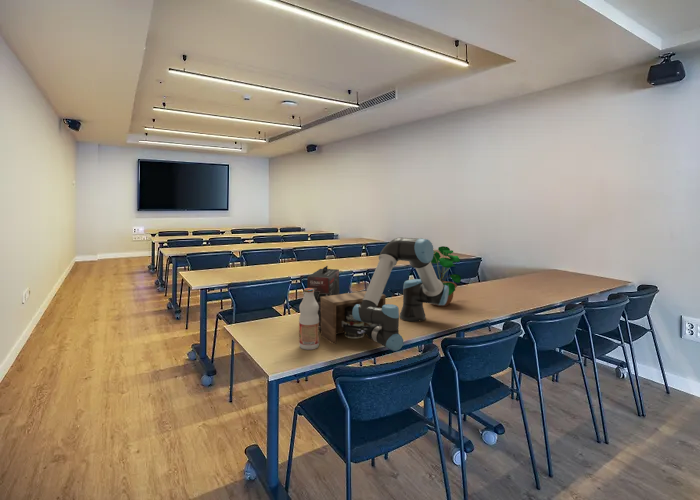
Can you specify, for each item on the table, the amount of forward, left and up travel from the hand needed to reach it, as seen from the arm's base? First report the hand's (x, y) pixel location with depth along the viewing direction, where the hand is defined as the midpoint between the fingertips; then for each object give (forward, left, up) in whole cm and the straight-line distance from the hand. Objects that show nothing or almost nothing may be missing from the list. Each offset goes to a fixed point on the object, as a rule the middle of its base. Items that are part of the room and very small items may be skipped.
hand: (353, 321), depth 199 cm
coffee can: (-1, 0, -8) cm, 8 cm away
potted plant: (-86, -20, -8) cm, 88 cm away
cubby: (-1, -1, -7) cm, 7 cm away
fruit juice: (+26, +3, -8) cm, 28 cm away
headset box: (+4, -24, -8) cm, 26 cm away
